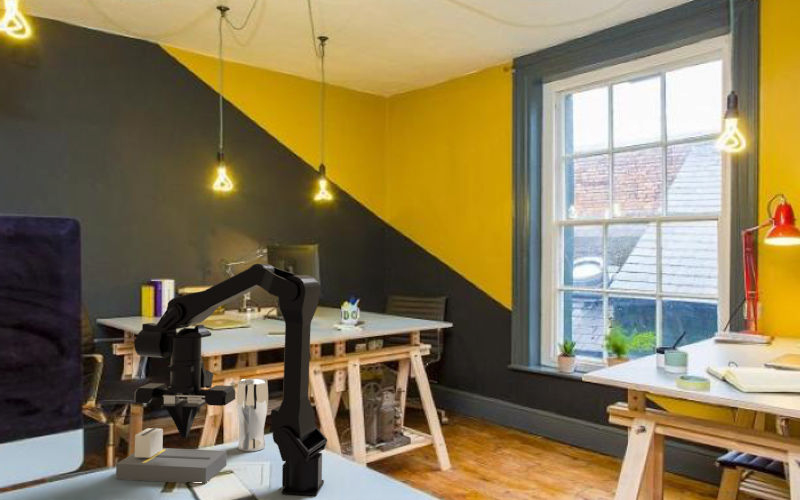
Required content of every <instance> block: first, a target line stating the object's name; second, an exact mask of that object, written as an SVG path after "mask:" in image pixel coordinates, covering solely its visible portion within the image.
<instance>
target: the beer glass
mask: <svg viewBox="0 0 800 500" xmlns="http://www.w3.org/2000/svg"><path fill="white" fill-rule="evenodd" d="M236 389H237V391H236V412H237V413H236V414H237V418H238V425H239V440H238V443H237V444H238V445H237V449H238V450H239V451H241V452H245V453H246V452H248V453H249V452H251V453H252V452H258V451H260V450H264V449H265V448H266V442H265V441H266V440H265V425H266V424H265V423H266V418H267V413H268V409H269V408H268V407H269V386H268V379H265V378H243V379H240V380H238V381H237V388H236Z"/></svg>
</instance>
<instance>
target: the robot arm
mask: <svg viewBox="0 0 800 500" xmlns="http://www.w3.org/2000/svg"><path fill="white" fill-rule="evenodd" d="M258 288H261V289H262V290H264V291H266V292H267V293H269V294H270V295H273V296H275V297H277V301H278V302H277V303H278V309H279V311H280V313H281V316H282V318H283V320H284V325H285V326H284V328H285V329H284V351H283V352H284V353H283V354H284V360H283V384H282V385H283V388H282V389H283V390H282V400H281V402H280V405H279V406H276V407H274V408H272V409H271V411H270V421H271V426H270V429H269V433H272V440H273V442H274V444H276V445H277V448H278V451H279V454H280V457H281V460H282V462H283V464H282V469H281V471H282V475H281V476H282V477H281V479H282V480H281V481H282V482H281V485H282V487H283V489H282V490H281V494H284V495H297V496H317V495H318V494H319V492H320V491H321V489H322V488H323V485H324V483H325V480H324V479H323V453H321V452H322V451H324V450H325V449H326V445H327V443H328V438H327V437H326V436H325V435H324V433H323V432H322V430H320V429H319V428H318V427H317V425H316V417H315V416H316V415H315V410H314V407H313V405H312V404H311V400H310V397H309V390H310V389H309V383H310V381H309V380H310V354H311V353H310V352H311V325H312V321H313V319H314V316H315V314H316V312H317V309H318V306H319V305H318V304H319V299H320V295H321V285H320V283H319V281H317V280H316V279H315V277H313V276H312V275H307V274H306V275H305V274H302V275H298V274H296V273H293V272H290V271H287V270H283V269H280V268H277V267H275V266H273V265H271V264H270V263H255V264H253V265H251V266H250V267H249V268H247V269H245V270H243V271H241V272H239V273H237V274H235V275H232V276H231V277H229V278H227V279H225V280H223V281H221V282H219V283H217V284H214V285H212V286H211V287H208V288H206V289H205V290H201V291H198V292H192V293H188V294H183V295H180V296H177V297H176V296H175V297H173V298H171V299H170V300H169V301H168V303H167V306H166V310H165V312H164V313H163V315H162V316H161V318H160V319H159V321H158V322H157V323H154V322H148V323H147V322H146V323H142V325H141V326H142V327H141V330H139V332H138V334H137V335H136V337H135V340H134V350H135V352H136V354H137V355H138V356H140V357H146V358H147V357H150V358H162V359H163V358H164V359H167V358H169V357H170V365H168V366H167V372H170V385H169V386H167V384H166V383H158V382H157V383H152V382H151V383H150V382H149V383H147V384H144V385H142V386H140V387H137V389H136V390H135V391H134V394H133V395H134V398H133V399H134V400H133V402H134V403H135V404H138V403H139V404H149V403H151V401H152V400H153V399H159V398H160V399H163V404H161V409H165V410H166V412H168V415H169V416H170V418H171V419H172V421H173V422H174V423H173V424H175V427H176V429H177V430H178V433H179V435H180V438H182V439H187V438H188V437H189V435H190V431H191V429H192V427H193V424H194V421H195V418H196V416H197V414H198V412H199V410H200V409H201V407H203V406H205V405H206V404H207V406H217V407H219V406H220V407H221V406H222V407H223V406H226V405H229V404H230V403H231V402H233V401H235V400H236V390H235V388H234V386H233V385H221V384H220V385H215V386H213V378H214V372H212V371H210V370H207V369H205V364H204V363H205V362H204V361H202V339H203V338H206V337H211V336H212V332H210V330H208V329H207V328H206V327H205V325H204V324H202V322H204V321H205V320H206V319H208V318H209V317H211V316H213V314H214V313H215V312H216V310H217V309H218V308H221V306H223V305H225V304H228V303H230V302H232V301H234V300H236V299H239V298H240V297H243V296H245V295H246V294H249V293H250V292H252V291H255V290H256V289H258ZM200 323H201V324H200ZM192 325H196V326H195V327H194V328H193V327H191V326H192ZM179 329H180V330H179ZM177 330H179V331H177ZM212 386H213V387H212ZM204 388H206V389H204Z"/></svg>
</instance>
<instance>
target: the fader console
mask: <svg viewBox="0 0 800 500" xmlns="http://www.w3.org/2000/svg"><path fill="white" fill-rule="evenodd" d="M227 460H228V451H227V450H217V449H216V450H213V449H211V450H210V449H195V448H192V449H190V448H189V449H188V448H171V447H169V448H167V447H163V448H162V450H161V451H160V452H158V453H157V454H155V455H154V456H152V457H150V458H146V457H135V452H133V453H132V454H131V455H128V456H126V457H125V458H123V459H122V460H119V462H117V463H115V464H116V465H115V467H116V468H115V469H116V471H115V479H116V480H122V481H123V480H124V481H125V480H127V481H128V480H129V481H146V482H165V483H167V482H168V483H181V484H182V483H183V484H188V483H187V482H202V483H206V482H207V481H208V482H210V481H211V480H210V479H211V478H212V477H213V476H214V475H215V476H217V475H218V474H219V473H220V472H221V471H222V470H223V469H225V467H227V466H226V465H228V464H227V463H228V462H227ZM218 472H219V473H218ZM215 476H214V477H215ZM214 477H213V478H214ZM213 478H212V479H213ZM208 482H207V483H208ZM207 483H206V484H207Z"/></svg>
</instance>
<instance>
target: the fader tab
mask: <svg viewBox="0 0 800 500" xmlns="http://www.w3.org/2000/svg"><path fill="white" fill-rule="evenodd" d="M163 434H164V429H163V428H157V427H152V428H150V427H148V428H145V429H144V430H142V431H140V432H138V433H136V434H135V435H134V453H135V457H146V458H150V457H152V456H154V455H155V454H157V453H158V452H160V451H161V450H162V448H164V446H163V442H164V441H163V439H164V438H163V437H164V435H163Z"/></svg>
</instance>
